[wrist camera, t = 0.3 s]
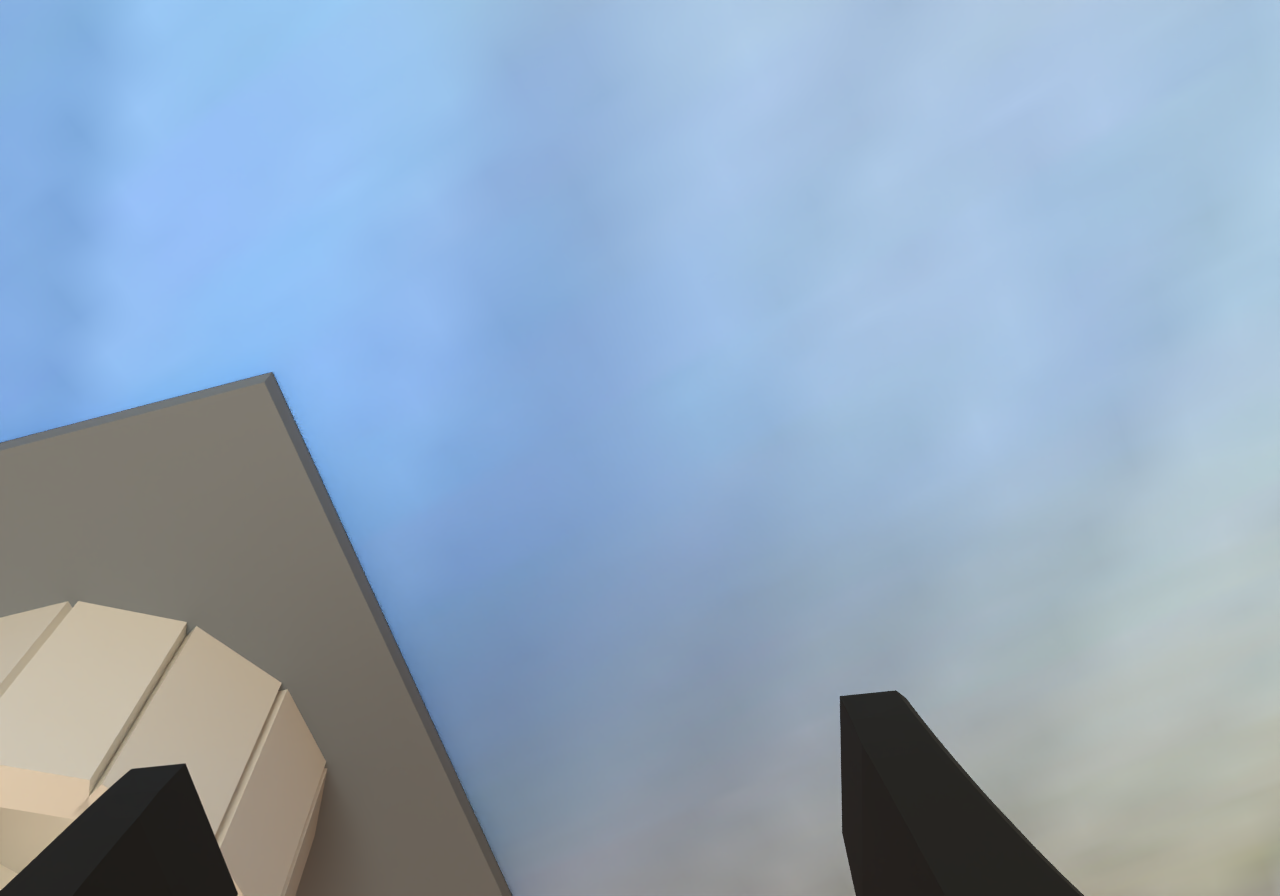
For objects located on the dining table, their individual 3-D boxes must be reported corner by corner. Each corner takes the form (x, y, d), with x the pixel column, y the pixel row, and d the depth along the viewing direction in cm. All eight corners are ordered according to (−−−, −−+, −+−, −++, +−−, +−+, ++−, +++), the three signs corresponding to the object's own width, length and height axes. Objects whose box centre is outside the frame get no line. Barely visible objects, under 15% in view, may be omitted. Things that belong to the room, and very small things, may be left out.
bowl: (379, 862, 25) (336, 1041, 21) (41, 935, 25) (-64, 1121, 21) (220, 563, 21) (128, 713, 17) (-175, 660, 21) (-355, 826, 17)
